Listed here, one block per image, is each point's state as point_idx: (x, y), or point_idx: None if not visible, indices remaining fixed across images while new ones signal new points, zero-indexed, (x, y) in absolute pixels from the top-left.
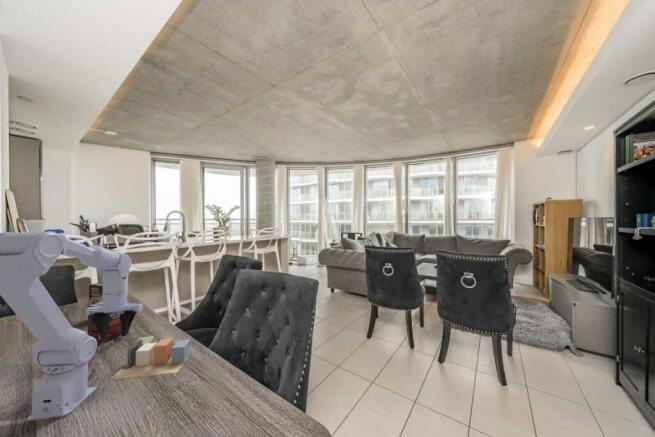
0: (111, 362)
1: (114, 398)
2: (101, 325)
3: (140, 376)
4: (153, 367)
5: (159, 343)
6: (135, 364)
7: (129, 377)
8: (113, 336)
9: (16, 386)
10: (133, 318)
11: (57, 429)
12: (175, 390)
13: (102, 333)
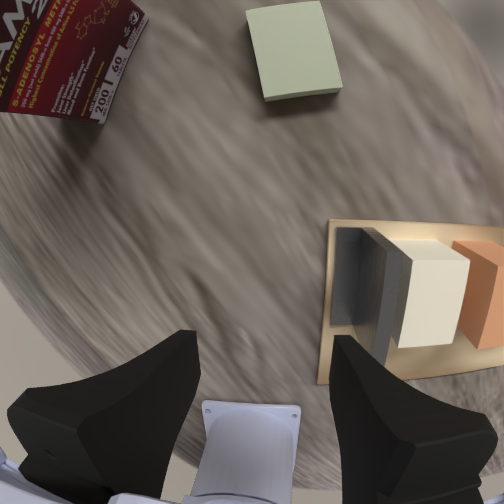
0: (232, 230)
1: None
2: (168, 457)
3: (415, 377)
4: None
5: (495, 321)
6: None
7: None
8: (109, 41)
9: (43, 319)
10: (421, 394)
11: (299, 486)
12: (491, 414)
13: (190, 405)
